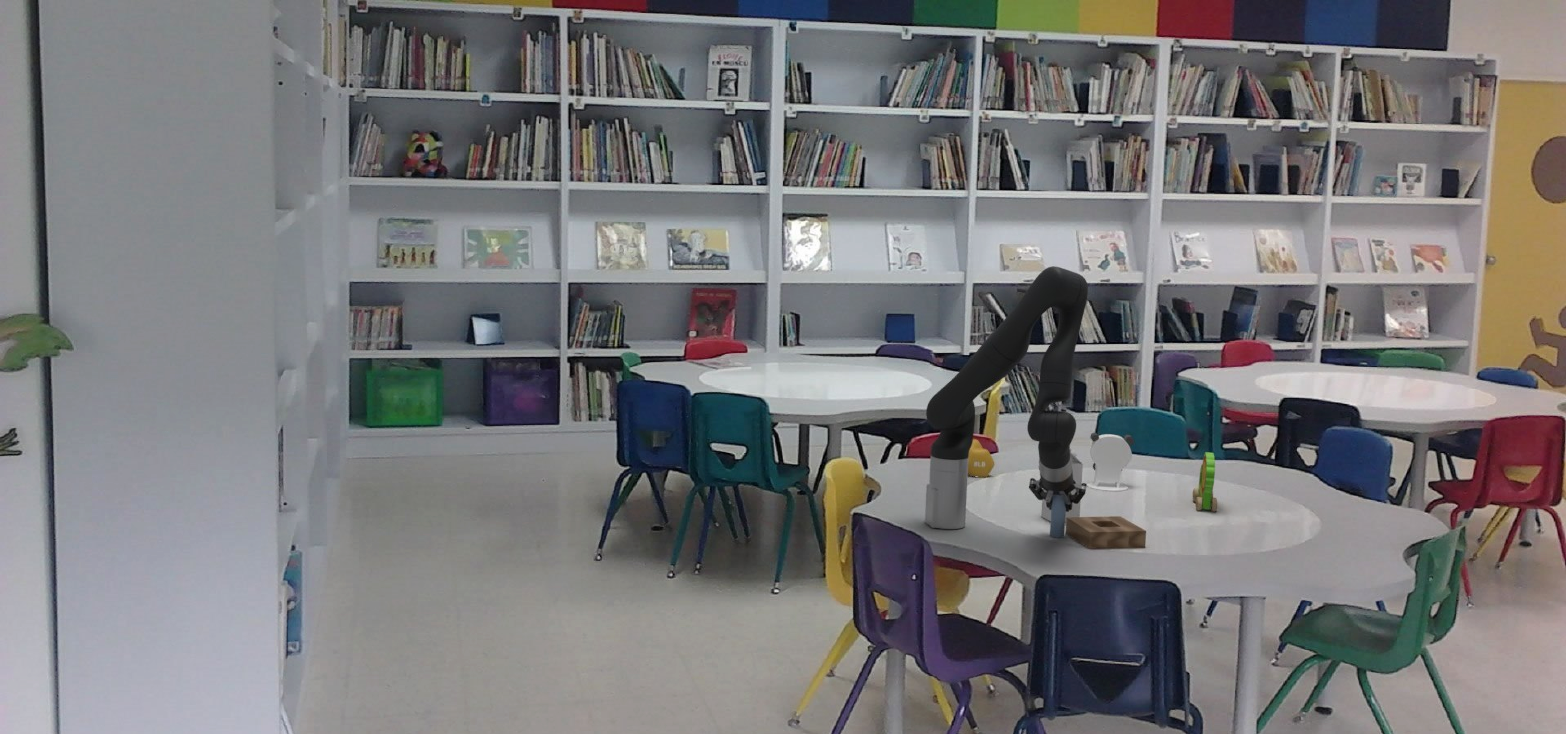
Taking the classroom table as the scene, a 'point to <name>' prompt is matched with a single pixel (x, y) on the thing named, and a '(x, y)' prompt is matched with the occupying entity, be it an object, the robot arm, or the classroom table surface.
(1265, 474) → the classroom table surface
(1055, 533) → the peg
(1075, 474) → the milk carton
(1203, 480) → the toy lion
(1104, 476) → the panda figurine
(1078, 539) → the socket
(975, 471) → the dumbbell
